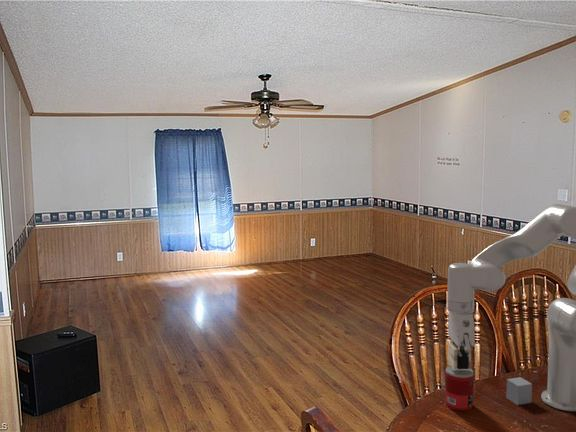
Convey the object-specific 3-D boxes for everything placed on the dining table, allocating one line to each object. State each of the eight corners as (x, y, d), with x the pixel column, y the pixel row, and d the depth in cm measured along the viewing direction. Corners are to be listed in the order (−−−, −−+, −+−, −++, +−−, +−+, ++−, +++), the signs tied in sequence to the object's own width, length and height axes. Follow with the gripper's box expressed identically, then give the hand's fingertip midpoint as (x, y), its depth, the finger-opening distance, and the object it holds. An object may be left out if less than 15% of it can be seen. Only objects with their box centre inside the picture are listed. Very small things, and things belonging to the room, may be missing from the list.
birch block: (464, 362, 158) (464, 343, 158) (470, 368, 153) (470, 349, 153) (448, 362, 158) (448, 343, 158) (453, 369, 153) (453, 349, 153)
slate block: (519, 395, 163) (520, 377, 162) (531, 402, 158) (532, 383, 157) (506, 397, 161) (506, 379, 161) (517, 405, 157) (518, 386, 156)
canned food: (474, 412, 153) (475, 376, 152) (446, 410, 154) (446, 374, 153) (471, 400, 160) (471, 365, 159) (444, 398, 162) (444, 364, 161)
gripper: (484, 313, 145) (482, 376, 148) (463, 297, 162) (462, 353, 164) (457, 314, 145) (456, 377, 147) (439, 297, 162) (438, 354, 164)
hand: (459, 364), depth 156 cm, fingers closed on birch block, 5 cm apart
